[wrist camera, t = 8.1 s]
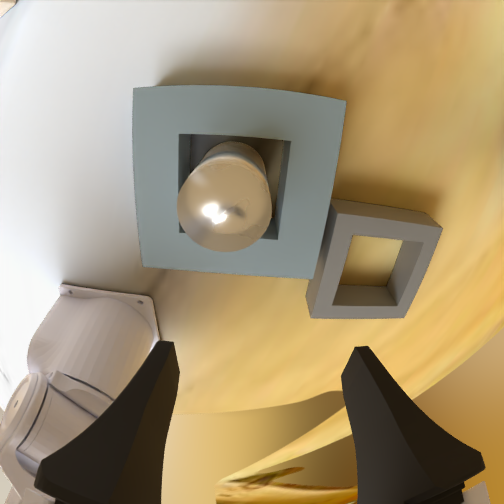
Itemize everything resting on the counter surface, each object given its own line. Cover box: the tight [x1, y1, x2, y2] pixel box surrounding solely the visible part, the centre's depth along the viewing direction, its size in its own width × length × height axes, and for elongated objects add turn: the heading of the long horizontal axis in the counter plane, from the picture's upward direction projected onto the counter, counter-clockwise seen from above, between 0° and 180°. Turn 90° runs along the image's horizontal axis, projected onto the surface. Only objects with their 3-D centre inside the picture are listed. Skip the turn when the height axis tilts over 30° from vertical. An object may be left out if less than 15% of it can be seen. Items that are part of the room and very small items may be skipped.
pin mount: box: [306, 199, 443, 319], centre depth 19 cm, size 8×8×2 cm
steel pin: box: [177, 141, 272, 252], centre depth 14 cm, size 4×4×6 cm
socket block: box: [132, 85, 347, 279], centre depth 16 cm, size 10×10×3 cm
